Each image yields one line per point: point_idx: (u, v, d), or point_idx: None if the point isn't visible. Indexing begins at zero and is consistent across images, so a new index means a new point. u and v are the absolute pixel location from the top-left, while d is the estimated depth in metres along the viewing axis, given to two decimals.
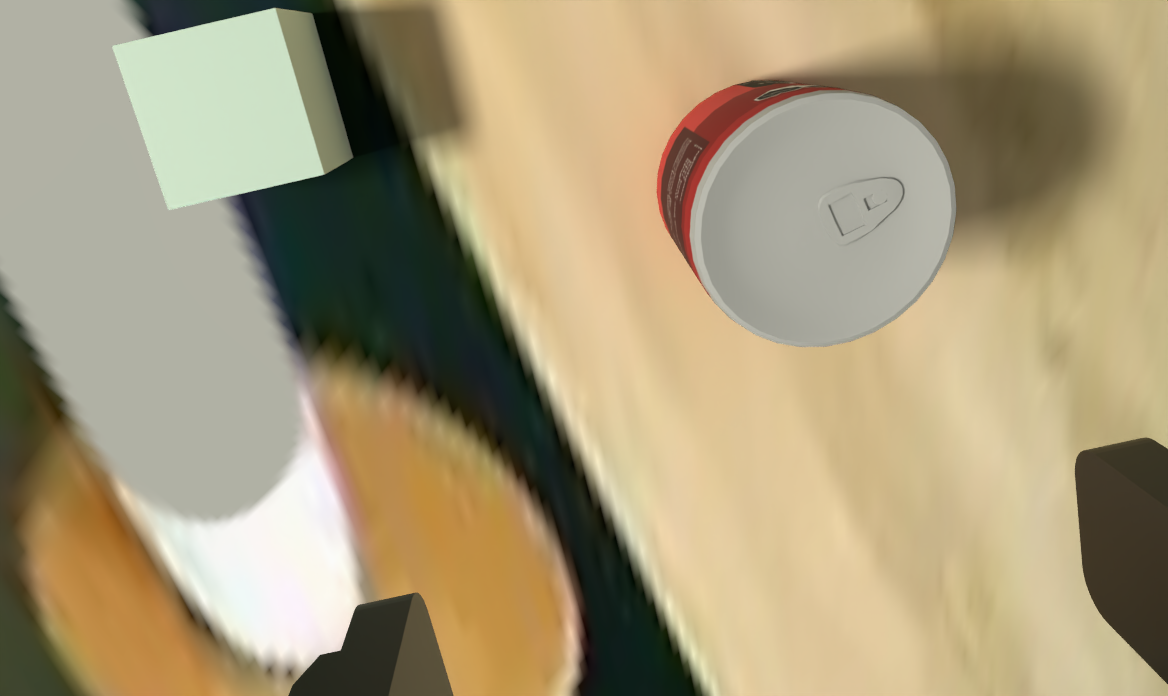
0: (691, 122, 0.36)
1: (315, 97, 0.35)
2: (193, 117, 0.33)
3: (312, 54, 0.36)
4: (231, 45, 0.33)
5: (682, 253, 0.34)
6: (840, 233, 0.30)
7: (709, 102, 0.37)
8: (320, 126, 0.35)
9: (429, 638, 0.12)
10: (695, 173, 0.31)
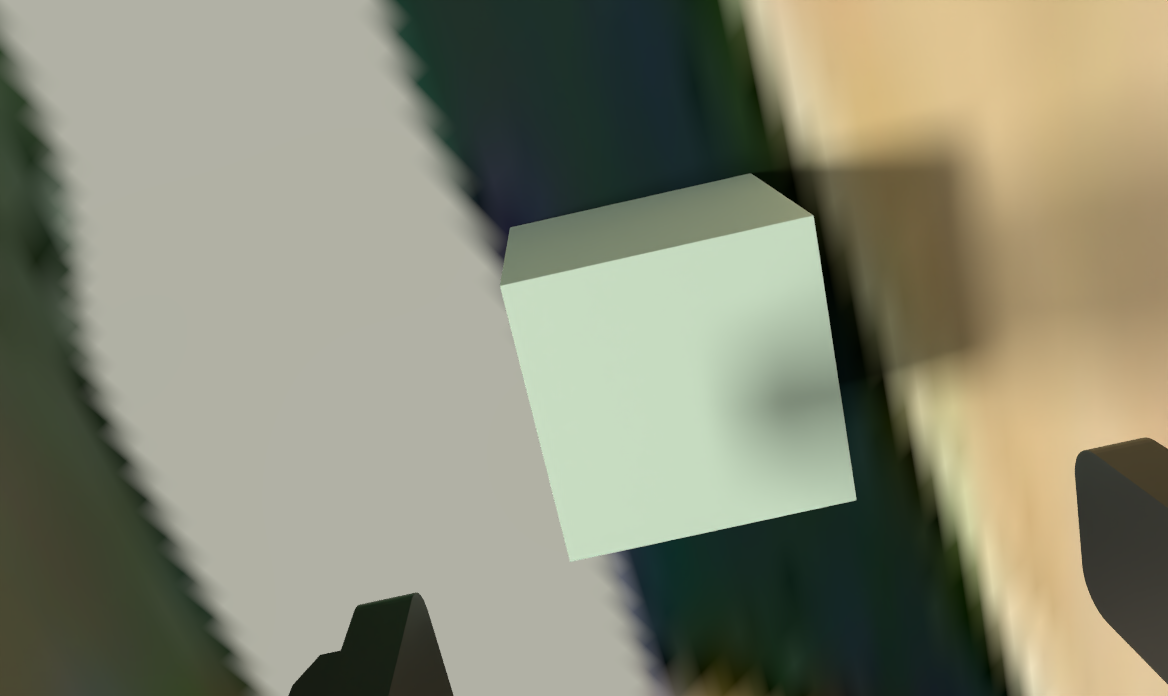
0: None
1: None
2: (635, 408, 0.18)
3: None
4: (721, 281, 0.17)
5: None
6: None
7: None
8: None
9: (429, 638, 0.12)
10: None
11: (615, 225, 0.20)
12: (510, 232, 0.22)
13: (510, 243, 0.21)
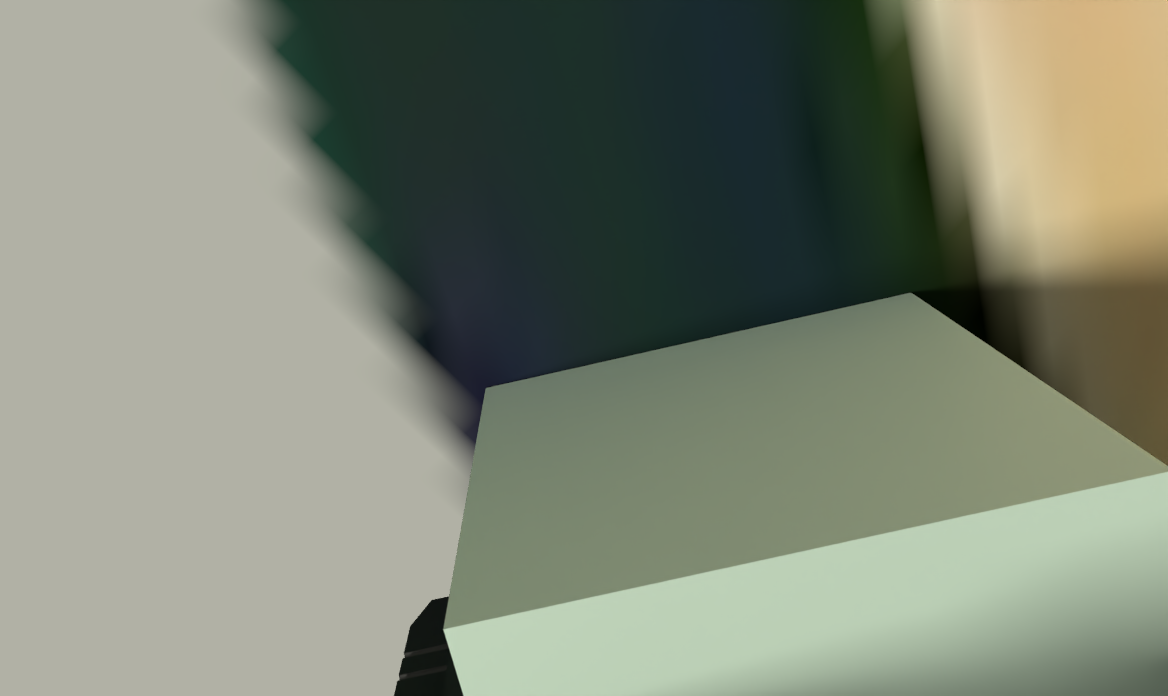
0: None
1: None
2: None
3: None
4: (951, 612, 0.08)
5: None
6: None
7: None
8: None
9: None
10: None
11: (684, 420, 0.10)
12: (484, 405, 0.12)
13: (481, 444, 0.11)
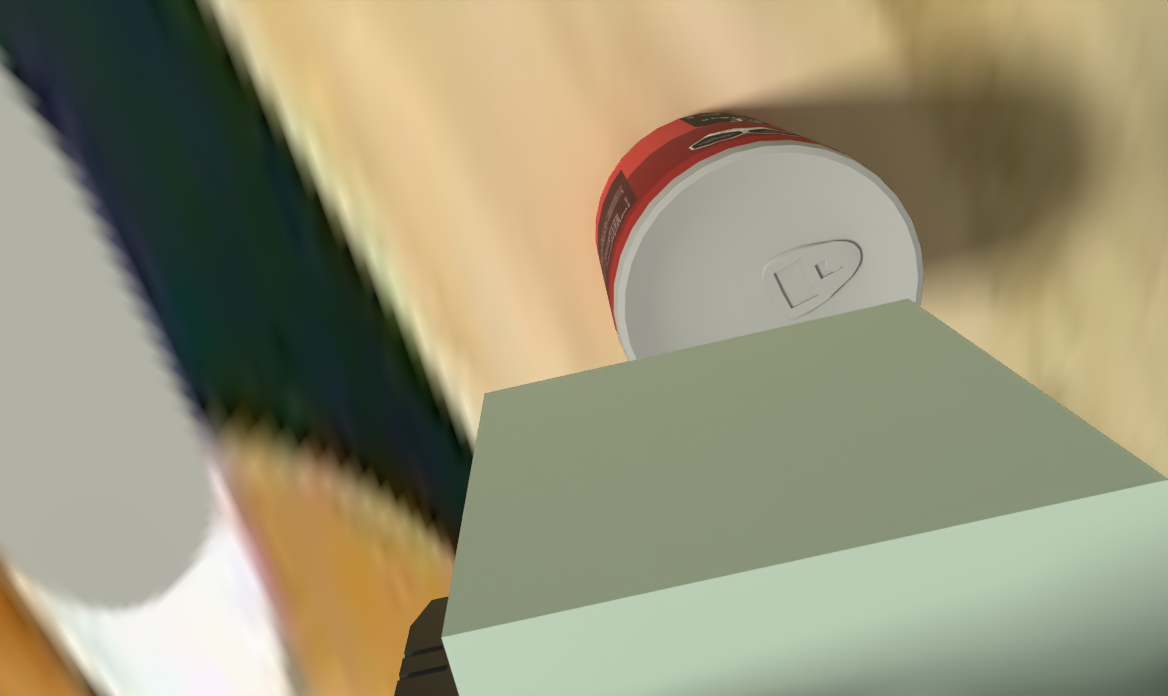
0: (627, 165, 0.32)
1: None
2: None
3: None
4: (947, 621, 0.08)
5: None
6: (788, 305, 0.26)
7: (648, 141, 0.32)
8: None
9: None
10: (620, 237, 0.26)
11: (681, 426, 0.10)
12: (483, 411, 0.12)
13: (480, 450, 0.11)
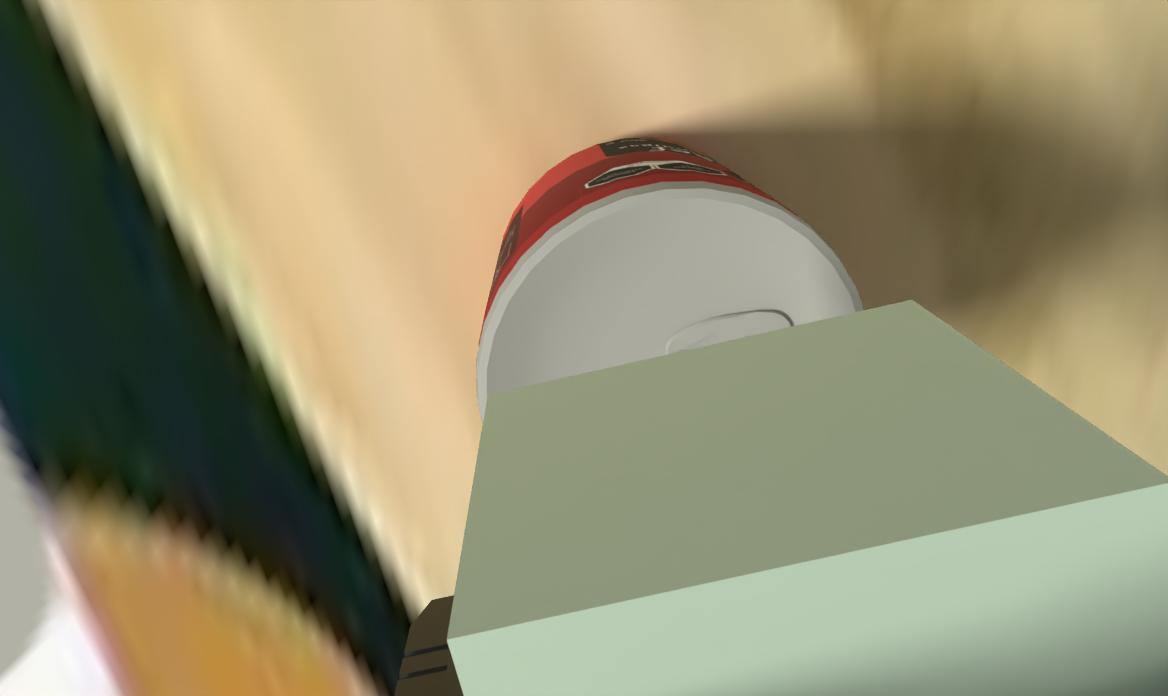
0: (528, 200, 0.26)
1: None
2: None
3: None
4: (953, 622, 0.08)
5: None
6: None
7: (557, 171, 0.27)
8: None
9: None
10: (491, 297, 0.21)
11: (686, 428, 0.10)
12: (486, 412, 0.12)
13: (483, 452, 0.11)
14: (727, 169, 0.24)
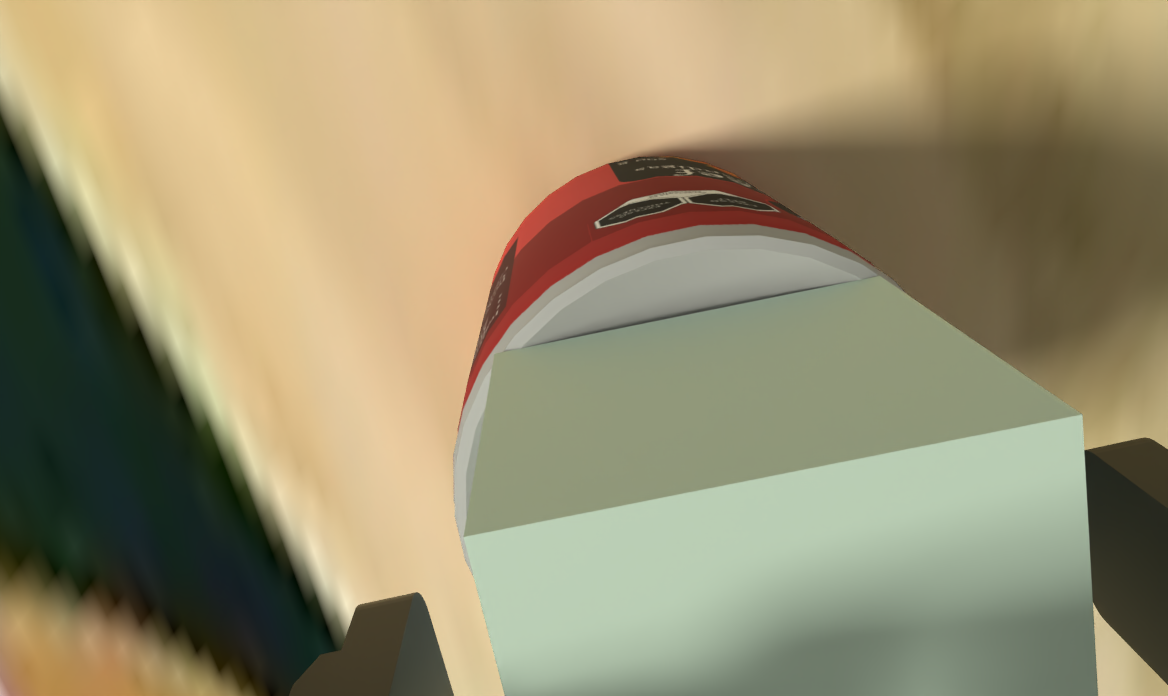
0: (523, 233, 0.21)
1: None
2: None
3: None
4: (894, 533, 0.09)
5: None
6: None
7: (558, 197, 0.22)
8: None
9: (429, 638, 0.12)
10: (473, 370, 0.16)
11: (672, 378, 0.12)
12: (493, 367, 0.13)
13: (492, 398, 0.12)
14: (771, 198, 0.19)
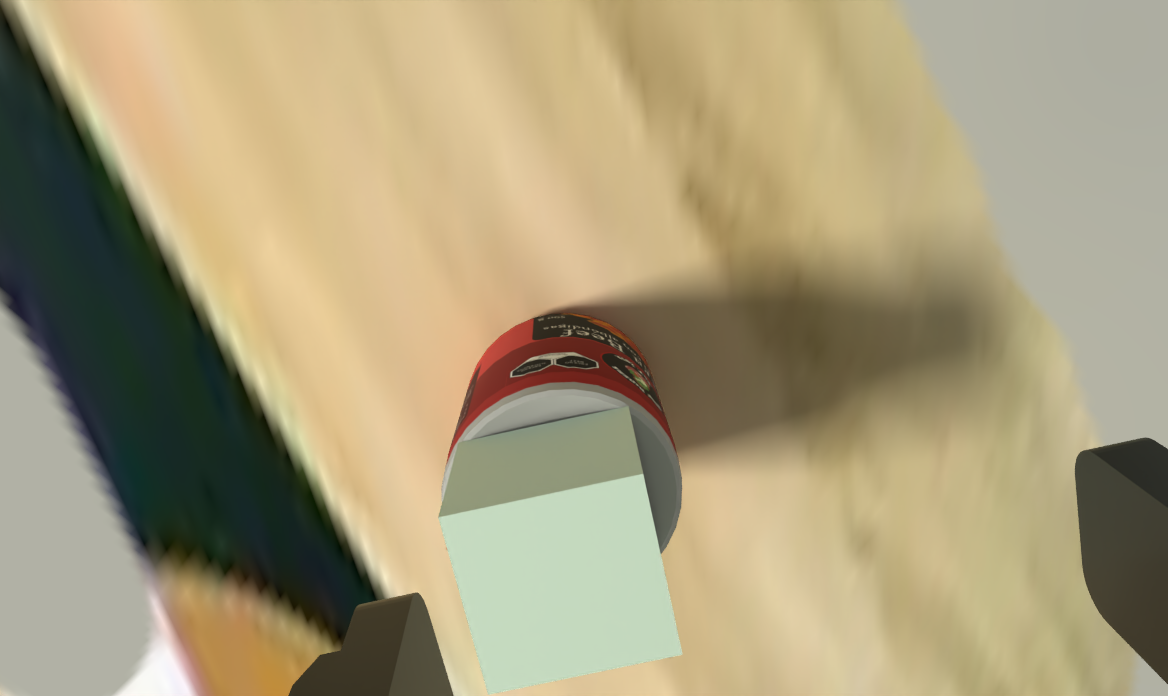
0: (483, 363, 0.39)
1: None
2: (529, 594, 0.27)
3: None
4: (584, 514, 0.26)
5: None
6: None
7: (503, 341, 0.40)
8: None
9: (429, 638, 0.12)
10: (451, 446, 0.33)
11: (525, 457, 0.29)
12: (457, 450, 0.31)
13: (454, 465, 0.30)
14: (610, 349, 0.37)
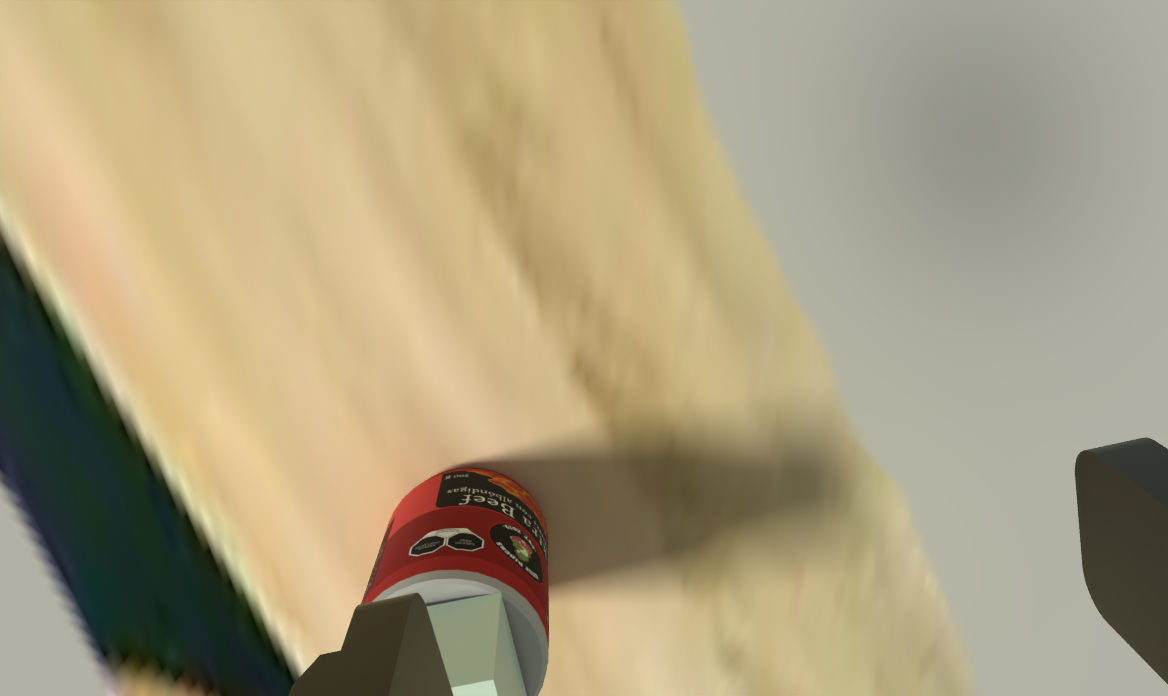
0: (395, 520, 0.46)
1: None
2: None
3: (507, 657, 0.36)
4: None
5: None
6: None
7: (414, 498, 0.46)
8: None
9: (429, 638, 0.12)
10: None
11: None
12: None
13: None
14: (500, 517, 0.43)
